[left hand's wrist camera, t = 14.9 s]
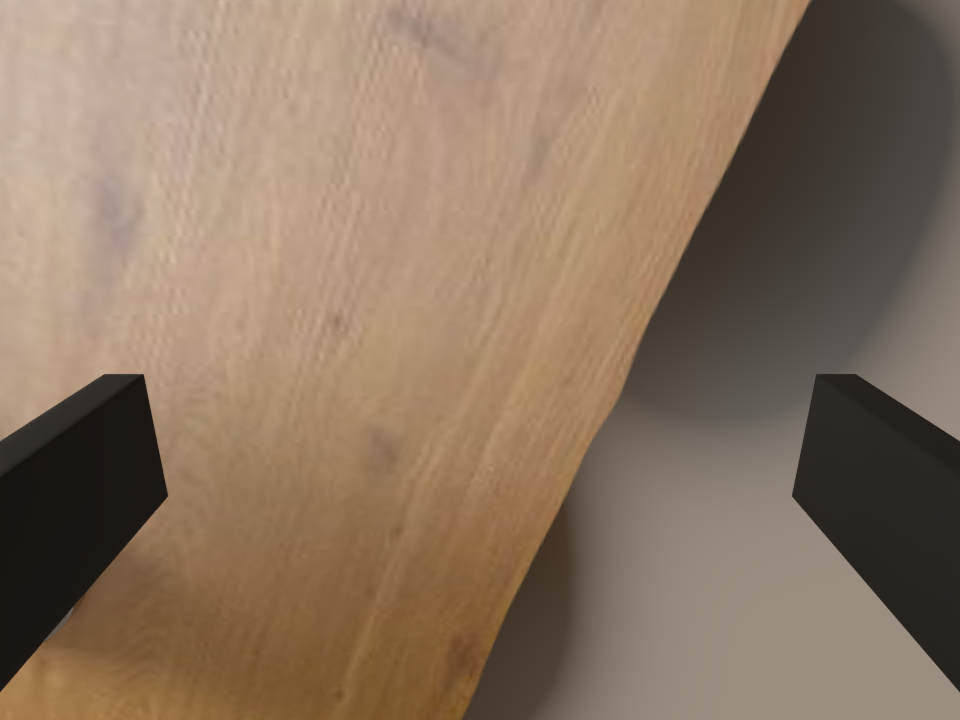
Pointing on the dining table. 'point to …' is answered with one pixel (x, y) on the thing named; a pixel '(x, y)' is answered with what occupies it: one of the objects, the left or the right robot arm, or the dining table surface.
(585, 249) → the dining table surface
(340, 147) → the dining table surface
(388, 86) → the dining table surface
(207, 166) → the dining table surface
